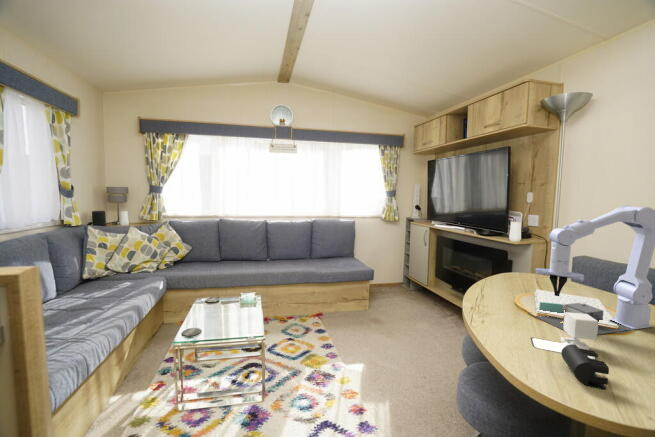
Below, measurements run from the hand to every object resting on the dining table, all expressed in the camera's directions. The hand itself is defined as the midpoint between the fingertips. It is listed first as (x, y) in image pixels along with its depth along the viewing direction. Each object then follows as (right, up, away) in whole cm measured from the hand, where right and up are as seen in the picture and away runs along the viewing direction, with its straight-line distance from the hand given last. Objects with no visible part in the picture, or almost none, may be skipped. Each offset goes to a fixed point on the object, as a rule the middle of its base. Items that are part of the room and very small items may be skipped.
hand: (556, 295), depth 117 cm
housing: (+10, -10, 0) cm, 14 cm away
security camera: (-7, -12, -18) cm, 23 cm away
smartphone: (-13, -13, -19) cm, 26 cm away
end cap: (-19, -14, -34) cm, 41 cm away
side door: (+1, -9, +5) cm, 10 cm away
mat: (+7, -10, 0) cm, 12 cm away
